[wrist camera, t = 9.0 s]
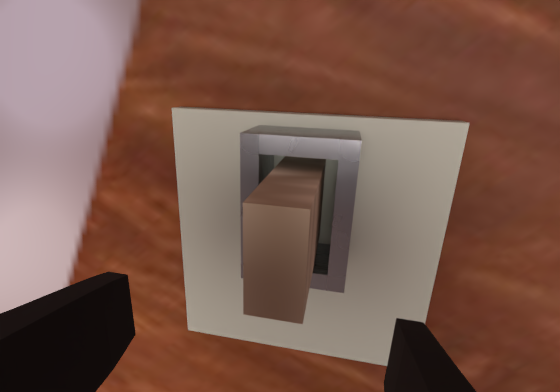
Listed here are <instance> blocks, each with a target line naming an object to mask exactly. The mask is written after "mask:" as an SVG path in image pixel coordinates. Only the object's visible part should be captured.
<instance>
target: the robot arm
mask: <svg viewBox="0 0 560 392" xmlns="http://www.w3.org/2000/svg"><path fill="white" fill-rule="evenodd" d="M134 336H135V327H134V319H133V312H132V304H131V297H130V289H129V282H128V275H126V274H120V273H113V272H106V273H103V274H100V275H97V276H94V277H91V278H88V279H86V280H83V281H81V282H78V283H75V284H73V285H70V286H68V287H66V288H63V289H61V290H58V291H56V292H53V293H51V294H48V295H46V296H43V297H41V298H39V299H36V300H34V301H32V302H29V303H26V304H24V305H21V306H19V307H16V308H14V309H12V310H9V311H6V312H4V313H1V314H0V392H96V390H97V389H98V388H99V387H100V385H101V384H102V383H103V382H104V380H105V379H106V378H107V377H108V375H109V374H110V373H111V371H112V370H113V369H114V367H115V366H116V364H117V363H118V361H119V360H120V358H121V357H122V355H123V354H124V352H125V350H126V349H127V347H128V346H129V344H130V342H131V341H132V339H133V337H134ZM384 392H476V391H475V389H474V388H473V387H472V386H471V384H470V383H469V382H468V380H467V379H466V378H465V377H464V375H463V374H462V373H461V371H460V370H459V369H458V368H457V366H456V365H455V364H454V362H453V361H452V360H451V358H450V357H449V356H448V354H447V353H446V352H445V350H444V349H443V348H442V346H441V345H440V344H439V342H438V341H437V340H436V338H435V337H434V336H433V334H432V333H431V332H430V330H429V329H428V328H427V326H426V325H425V324H424V323H423V322H419V321H413V320H406V319H400V318H396V322H395V327H394V333H393V338H392V343H391V348H390V354H389V359H388V364H387V369H386V374H385V380H384Z"/></svg>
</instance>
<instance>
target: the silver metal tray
mask: <svg viewBox="0 0 560 392" xmlns="http://www.w3.org/2000/svg"><path fill="white" fill-rule="evenodd" d="M361 144H362V139H361V136H360V132H359V131H354V130H337V129H320V128H303V127H286V126H269V125H258V126H255V127H253V128H251V129H248V130H246V131H243V132H241V133H240V217H241V278H243V202H244V201H245V200H246V198H247V197H248V196H249V195H250V194H251V193H252V192H253V191H254V190H255V189H256V188H257V186H258V185H259V184H260V183H261V182H262V181H263V180H264V179H265V178H266V177H267V175H268V174H269V173H270V172H271V171H272V170H273V169H274V155H278V156H292V157H305V158H318V159H332V160H338V170H337V180H336V191H335V201H334V212H333V222H332V233H331V243H330V244H323V243H318V246H317V252H316V257H315V262H314V267H313V273H312V278H311V283H310V288H312V289H318V290H325V291H332V292H339V293H344V289H345V281H346V272H347V264H348V255H349V246H350V238H351V229H352V221H353V212H354V204H355V195H356V187H357V178H358V169H359V161H360V152H361Z"/></svg>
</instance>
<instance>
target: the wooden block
mask: <svg viewBox="0 0 560 392" xmlns="http://www.w3.org/2000/svg"><path fill="white" fill-rule="evenodd" d="M325 166H326V159H318V158H305V157H292V156H285V157H284V158H283V159H282V160H281V161H280V162H279V163H278V165H277V166H276V167H275V168H274V169H273V170H272V171H271V172H270V173H269V174H268V175H267V177H266V178H265V179H264V180H263V181H262V182H261V183H260V184H259V185H258V186H257V188H256V189H255V190H254V191H253V192H252V193H251V194H250V195H249V196H248V197H247V198H246V200H245V201H244V202H243V315H249V316H255V317H261V318H267V319H273V320H280V321H286V322H292V323H298V324H303V320H304V314H305V309H306V304H307V299H308V293H309V288H310V283H311V278H312V273H313V267H314V262H315V257H316V252H317V246H318V241H319V236H320V227H321V215H322V203H323V190H324V178H325Z"/></svg>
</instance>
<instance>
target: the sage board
mask: <svg viewBox="0 0 560 392" xmlns="http://www.w3.org/2000/svg"><path fill="white" fill-rule="evenodd" d="M172 119H173V132H174V146H175V159H176V173H177V186H178V200H179V213H180V227H181V240H182V254H183V267H184V281H185V294H186V308H187V321H188V330H191V331H196V332H202V333H207V334H213V335H218V336H224V337H229V338H235V339H240V340H246V341H252V342H257V343H263V344H268V345H274V346H279V347H285V348H290V349H296V350H301V351H307V352H312V353H318V354H323V355H329V356H334V357H340V358H345V359H351V360H356V361H362V362H367V363H373V364H378V365H384V366H387V364H388V359H389V354H390V348H391V343H392V338H393V333H394V327H395V322H396V318H400V319H406V320H413V321H419V322H423V323H424V324H425V321H426V317H427V312H428V308H429V303H430V299H431V294H432V290H433V285H434V281H435V276H436V272H437V267H438V263H439V258H440V254H441V249H442V245H443V240H444V236H445V231H446V227H447V222H448V218H449V213H450V209H451V204H452V200H453V195H454V191H455V186H456V182H457V177H458V173H459V168H460V164H461V159H462V155H463V151H464V146H465V142H466V137H467V133H468V128H469V124H470V123H467V122H464V121H454V120H434V119H414V118H394V117H375V116H355V115H335V114H315V113H295V112H276V111H256V110H236V109H216V108H196V107H174V108H172ZM258 125H269V126H286V127H303V128H320V129H337V130H354V131H359V132H360V136H361V139H362V144H361V152H360V161H359V169H358V178H357V187H356V195H355V204H354V212H353V221H352V229H351V238H350V246H349V255H348V264H347V272H346V281H345V289H344V293H339V292H332V291H325V290H318V289H312V288H309V293H308V299H307V304H306V309H305V314H304V320H303V324H298V323H292V322H286V321H280V320H273V319H267V318H261V317H255V316H249V315H243V278H241V217H240V133H241V132H243V131H246V130H248V129H251V128H253V127H255V126H258ZM284 157H285V156H278V155H274V168H275V167H276V166H277V165H278V163H279V162H280V161H281V160H282V159H283V158H284ZM337 170H338V160H332V159H326V166H325V178H324V190H323V203H322V215H321V227H320V236H319V241H318V243H323V244H330V243H331V233H332V222H333V212H334V201H335V191H336V180H337Z"/></svg>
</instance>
